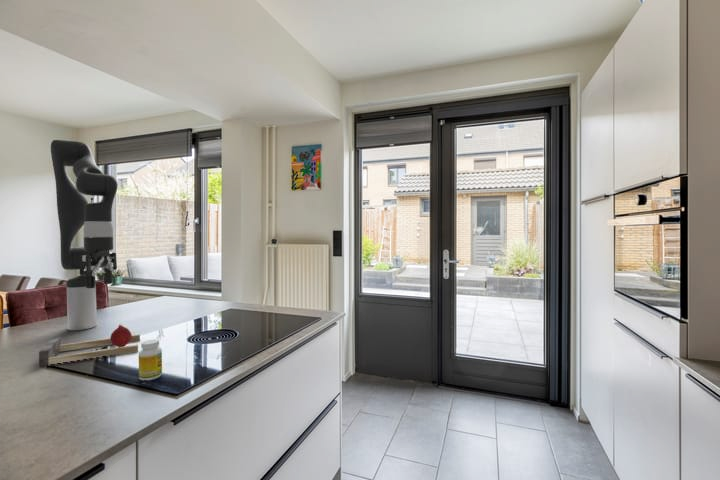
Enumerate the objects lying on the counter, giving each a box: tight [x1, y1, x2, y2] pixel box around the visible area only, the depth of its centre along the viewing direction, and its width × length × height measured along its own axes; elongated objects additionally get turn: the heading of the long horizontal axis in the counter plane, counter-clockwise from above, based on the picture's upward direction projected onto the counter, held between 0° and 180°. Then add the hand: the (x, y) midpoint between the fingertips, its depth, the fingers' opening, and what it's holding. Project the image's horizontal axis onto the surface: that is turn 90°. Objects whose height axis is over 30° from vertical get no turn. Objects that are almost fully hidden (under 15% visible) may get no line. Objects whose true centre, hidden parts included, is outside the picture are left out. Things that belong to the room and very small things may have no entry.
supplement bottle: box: [138, 339, 163, 381], centre depth 91 cm, size 5×5×10 cm
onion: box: [109, 323, 133, 348], centre depth 114 cm, size 6×6×8 cm
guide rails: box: [38, 333, 141, 368], centre depth 110 cm, size 14×24×4 cm, turn 121°
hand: (99, 285), depth 109 cm, fingers open, 8 cm apart
